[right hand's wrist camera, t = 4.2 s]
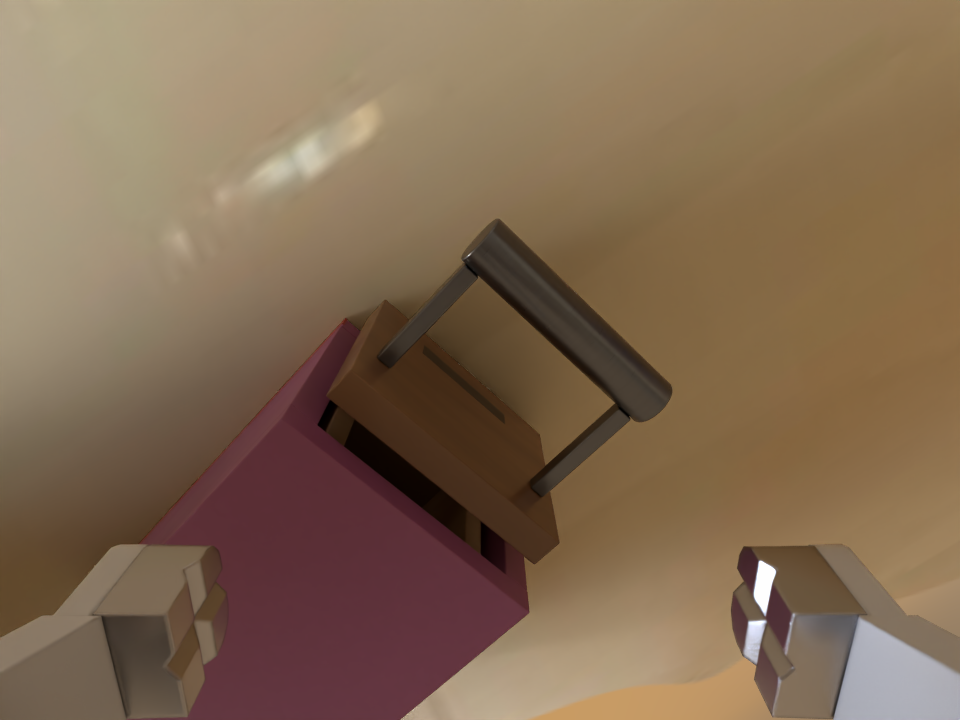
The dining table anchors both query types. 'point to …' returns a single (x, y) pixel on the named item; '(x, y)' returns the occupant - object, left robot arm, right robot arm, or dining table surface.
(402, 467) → the drawer
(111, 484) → the dining table surface
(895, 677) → the right robot arm
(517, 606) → the cabinet
